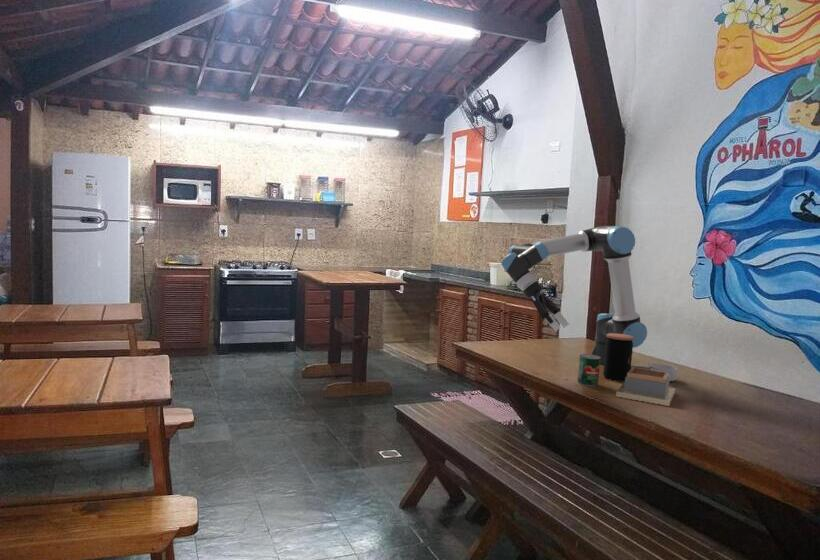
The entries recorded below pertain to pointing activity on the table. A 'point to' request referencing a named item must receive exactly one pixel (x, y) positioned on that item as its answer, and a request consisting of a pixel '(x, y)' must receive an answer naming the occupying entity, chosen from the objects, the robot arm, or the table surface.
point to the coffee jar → (618, 356)
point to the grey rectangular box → (647, 386)
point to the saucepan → (662, 369)
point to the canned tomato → (588, 369)
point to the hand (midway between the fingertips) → (562, 327)
